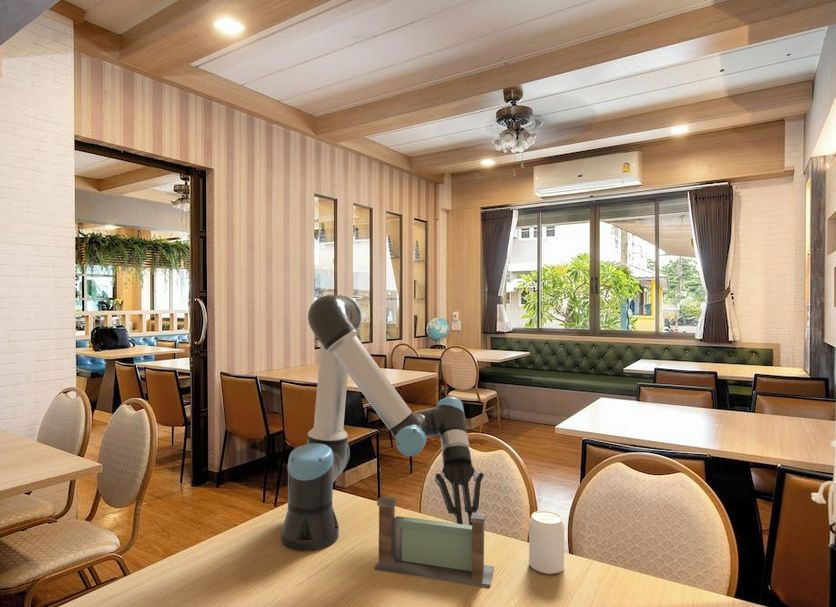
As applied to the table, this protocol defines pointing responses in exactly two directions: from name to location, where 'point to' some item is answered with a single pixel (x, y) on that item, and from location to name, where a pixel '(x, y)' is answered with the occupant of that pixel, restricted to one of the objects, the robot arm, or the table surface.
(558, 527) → the white cylinder
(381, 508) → the gate frame
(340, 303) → the robot arm
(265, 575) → the table surface
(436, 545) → the gate
